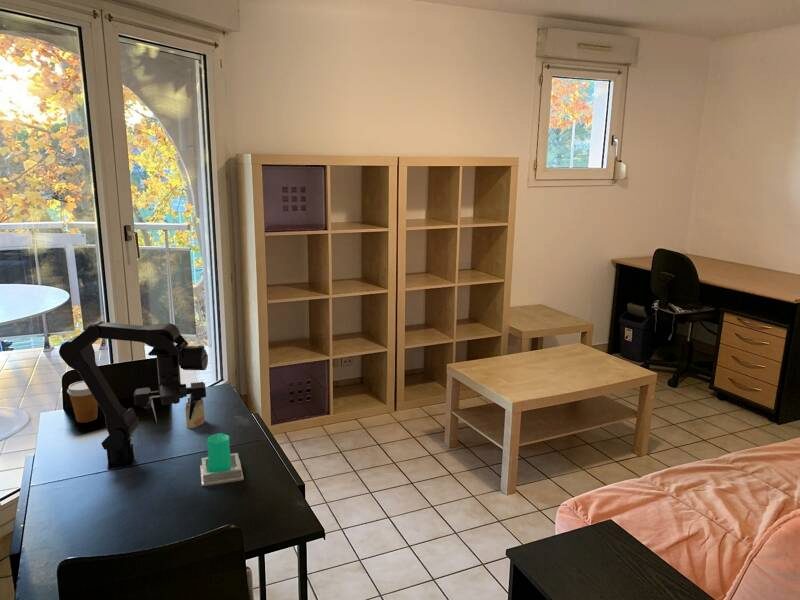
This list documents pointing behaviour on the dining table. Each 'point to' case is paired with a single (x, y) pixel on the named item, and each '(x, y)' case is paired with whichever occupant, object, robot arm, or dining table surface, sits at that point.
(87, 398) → the disposable coffee cup
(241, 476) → the white tray
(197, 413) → the lighter
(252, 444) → the dining table surface
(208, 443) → the candle
